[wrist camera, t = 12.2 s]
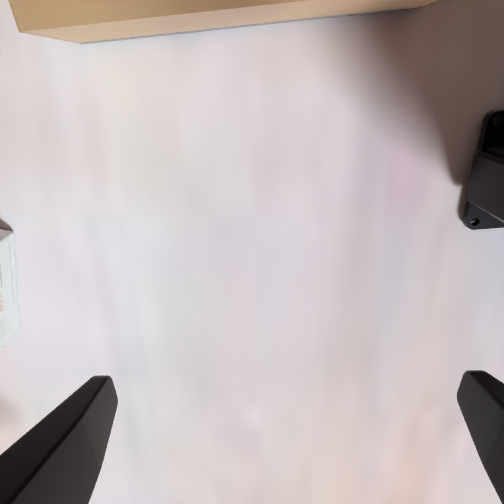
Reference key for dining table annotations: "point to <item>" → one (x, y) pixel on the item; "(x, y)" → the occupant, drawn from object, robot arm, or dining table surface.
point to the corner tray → (176, 15)
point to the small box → (8, 289)
